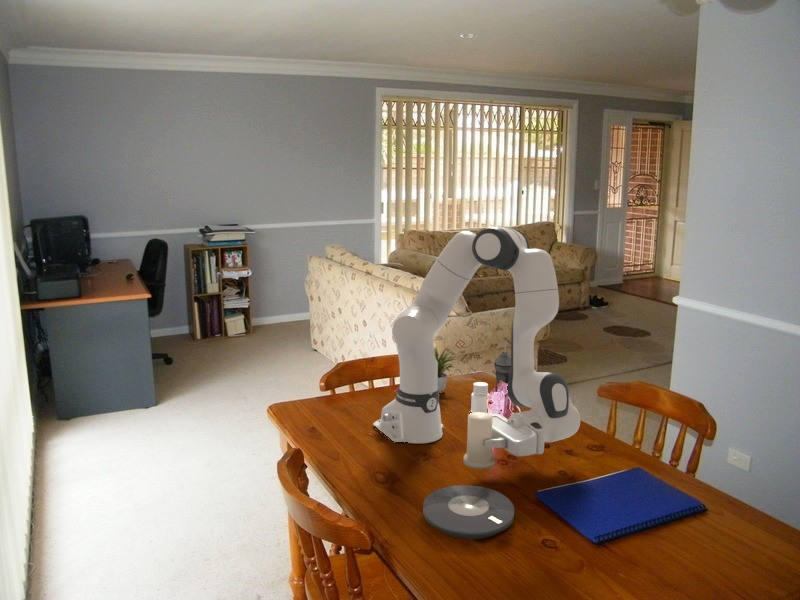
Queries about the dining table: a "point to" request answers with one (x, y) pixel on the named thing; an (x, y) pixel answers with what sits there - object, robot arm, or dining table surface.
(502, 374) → the beverage cup
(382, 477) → the dining table surface
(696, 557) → the dining table surface
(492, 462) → the white flanged cylinder
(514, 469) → the dining table surface
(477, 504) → the turntable
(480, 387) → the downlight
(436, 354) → the house plant
